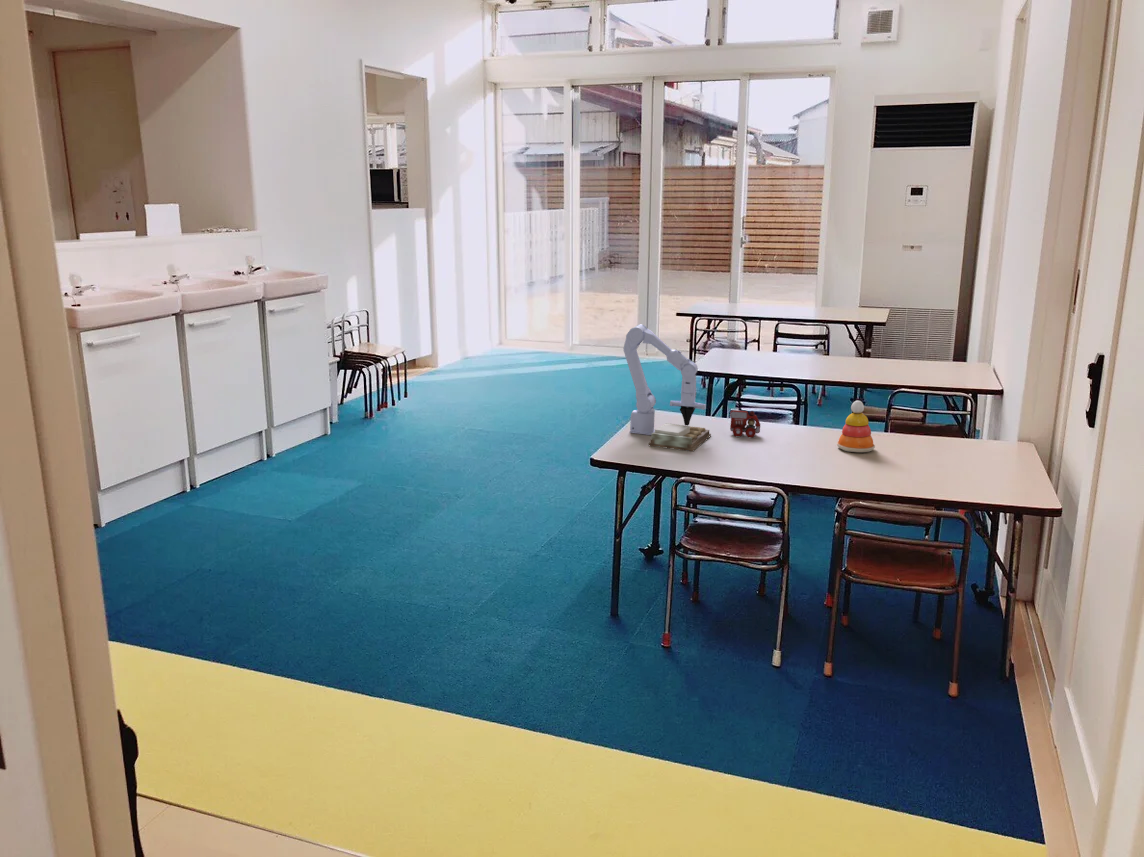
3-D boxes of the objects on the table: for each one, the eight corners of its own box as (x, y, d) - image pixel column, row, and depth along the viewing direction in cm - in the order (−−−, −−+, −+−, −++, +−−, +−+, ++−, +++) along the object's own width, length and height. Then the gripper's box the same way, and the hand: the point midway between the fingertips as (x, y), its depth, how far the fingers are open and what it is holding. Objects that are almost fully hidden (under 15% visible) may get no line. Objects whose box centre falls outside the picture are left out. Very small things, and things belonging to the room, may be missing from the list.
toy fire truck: (759, 438, 362) (761, 413, 359) (728, 436, 364) (730, 411, 361) (759, 434, 369) (761, 409, 366) (729, 432, 371) (730, 408, 368)
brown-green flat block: (648, 445, 349) (648, 433, 348) (668, 430, 372) (669, 419, 370) (692, 451, 342) (693, 438, 341) (710, 436, 364) (711, 424, 363)
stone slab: (654, 435, 350) (654, 429, 350) (666, 428, 360) (666, 423, 360) (678, 439, 346) (678, 432, 345) (689, 432, 356) (689, 426, 355)
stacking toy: (870, 445, 354) (874, 397, 349) (878, 455, 341) (883, 405, 336) (833, 443, 356) (837, 395, 351) (840, 453, 342) (844, 404, 337)
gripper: (708, 391, 360) (707, 424, 363) (674, 388, 366) (673, 420, 369) (703, 395, 354) (701, 428, 357) (668, 391, 360) (667, 424, 363)
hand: (686, 424), depth 363 cm, fingers closed
